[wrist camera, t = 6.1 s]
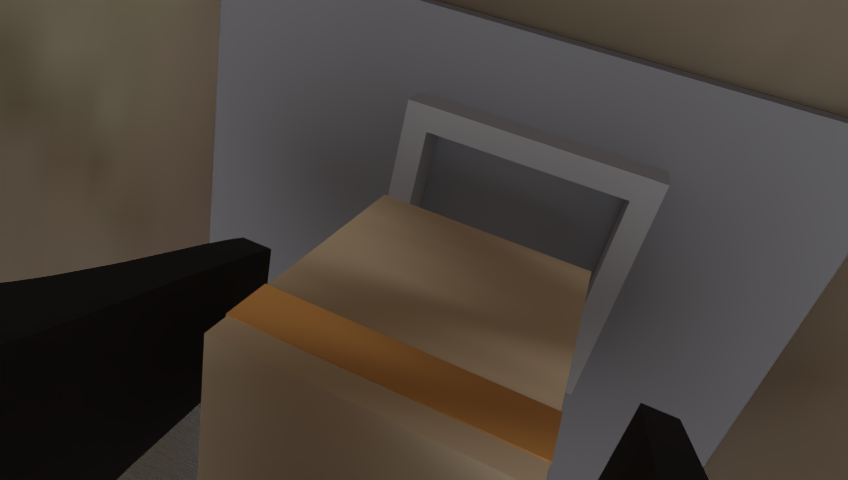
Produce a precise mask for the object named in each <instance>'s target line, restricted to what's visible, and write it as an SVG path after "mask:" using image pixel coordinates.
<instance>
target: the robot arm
mask: <svg viewBox="0 0 848 480" xmlns="http://www.w3.org/2000/svg"><path fill="white" fill-rule="evenodd" d="M270 256H271V249H270V248H268V247H265V246H263V245H260V244H258V243H256V242H253V241H251V240H248V239H246V238H244V237H242V238H235V239H229V240H223V241H218V242H213V243H208V244H203V245H199V246H194V247H190V248H185V249H181V250H176V251H172V252H168V253H163V254H158V255H154V256H149V257H145V258H140V259H136V260H131V261H127V262H122V263H117V264H112V265H106V266H101V267H96V268H90V269H85V270H80V271H74V272H69V273H64V274H58V275H53V276H47V277H40V278H34V279H27V280H20V281H13V282H4V283H0V480H117V479H118V478H119V477H120V476H121V475H122V474H123V473H124V472H125V471H126V470H127V469H128V468H129V467H130V466H131V465H133V464H134V463H135V462H136V461H137V460H138V459H139V458H140V457H141V456H142V455H144V454H145V453H146V452H147V451H148V450H149V449H150V448H151V447H152V446H153V445H155V444H156V443H157V442H158V441H159V440H160V439H161V438H162V437H163V436H164V435H166V434H167V433H168V432H169V431H170V430H171V429H172V428H173V427H174V426H175V425H177V424H178V423H179V422H180V421H181V420H182V419H183V418H184V417H185V416H186V415H188V414H189V413H190V412H191V411H192V410H193V409H194V408H195V407H196V406H197V405H199V404H200V403H201V393H202V372H203V351H204V333H205V332H207V331H208V330H209V329H211V328H212V327H213V326H214V325H216V324H217V323H218V322H220V321H221V320H222V319H224V318H225V317H226V313H227V312H229V311H230V310H231V309H233V308H234V307H235V306H237V305H238V304H239V303H241V302H242V301H243V300H245V299H246V298H247V297H248V296H250V295H251V294H252V293H254V292H255V291H256V290H258V289H259V288H260V287H262V286H263V285H264V284H268V274H269V265H270ZM598 480H709V479H708V477H707V475H706V473H705V471H704V469H703V467H702V464H701V462H700V460H699V458H698V456H697V454H696V452H695V449H694V447H693V445H692V443H691V441H690V439H689V437H688V434H687V432H686V430H685V428H684V426H683V424H682V422H681V420H680V419H679V418H676V417H674V416H672V415H669V414H667V413H664V412H662V411H659V410H657V409H655V408H652V407H650V406H647V405H645V404H643V403H640V405H639V407H638V409H637V410H636V412H635V414H634V416H633V418H632V419H631V421H630V423H629V425H628V427H627V428H626V430H625V432H624V434H623V436H622V437H621V439H620V441H619V443H618V445H617V446H616V448H615V450H614V452H613V454H612V455H611V457H610V459H609V461H608V463H607V464H606V466H605V468H604V470H603V472H602V473H601V475H600V477H599V479H598Z"/></svg>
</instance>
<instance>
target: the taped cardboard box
mask: <svg viewBox="0 0 848 480" xmlns="http://www.w3.org/2000/svg"><path fill="white" fill-rule="evenodd" d="M590 276H591V271H589V270H586V269H583V268H580V267H578V266H575V265H572V264H570V263H567V262H564V261H562V260H559V259H556V258H554V257H551V256H548V255H546V254H543V253H540V252H538V251H535V250H532V249H530V248H527V247H524V246H522V245H519V244H516V243H513V242H511V241H508V240H505V239H503V238H500V237H497V236H495V235H492V234H489V233H487V232H484V231H481V230H479V229H476V228H473V227H471V226H468V225H465V224H463V223H460V222H457V221H455V220H452V219H449V218H447V217H444V216H441V215H438V214H436V213H433V212H430V211H428V210H425V209H422V208H420V207H417V206H414V205H412V204H409V203H406V202H404V201H401V200H398V199H396V198H393V197H390V196H388V195H383V196H382V197H381V198H379V199H378V200H377V201H376V202H374V203H373V204H372V205H370V206H369V207H368V208H366V209H365V210H364V211H363V212H361V213H360V214H359V215H357V216H356V217H355V218H353V219H352V220H351V221H350V222H348V223H347V224H346V225H344V226H343V227H342V228H340V229H339V230H338V231H337V232H335V233H334V234H333V235H331V236H330V237H329V238H327V239H326V240H325V241H324V242H322V243H321V244H320V245H318V246H317V247H316V248H314V249H313V250H312V251H311V252H309V253H308V254H307V255H305V256H304V257H303V258H301V259H300V260H299V261H298V262H296V263H295V264H294V265H292V266H291V267H290V268H288V269H287V270H286V271H285V272H283V273H282V274H281V275H279V276H278V277H277V278H276V279H274V280H273V281H272V282H270V283H269V284H264V285H263V286H262V287H260V288H259V289H258V290H256V291H255V292H254V293H252V294H251V295H250V296H248V297H247V298H246V299H245V300H243V301H242V302H241V303H239V304H238V305H237V306H235V307H234V308H233V309H231V310H230V311H229V312H227V313H226V317H225V318H224V319H222V320H221V321H220V322H218V323H217V324H216V325H214V326H213V327H212V328H211V329H209V330H208V331H207V332H205V333H204V351H203V372H202V393H201V414H200V435H199V456H198V477H197V480H546V477H547V473H548V469H549V467H550V465H551V463H552V461H553V456H554V451H555V447H556V442H557V437H558V433H559V428H560V423H561V419H562V414H563V412H562V411H561V409H562V404H563V400H564V395H565V390H566V386H567V381H568V377H569V372H570V368H571V363H572V359H573V354H574V349H575V345H576V340H577V336H578V331H579V327H580V322H581V317H582V313H583V308H584V304H585V299H586V295H587V290H588V286H589V281H590Z"/></svg>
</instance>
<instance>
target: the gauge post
mask: <svg viewBox="0 0 848 480" xmlns="http://www.w3.org/2000/svg"><path fill="white" fill-rule="evenodd" d="M200 414H201V403H200V404H199V405H197V406H196V407H195V408H194V409H193V410H192V411H191V412H190V413H189V414H188V415H186V416H185V417H184V418H183V419H182V420H181V421H180V422H179V423H178V424H177V425H175V426H174V427H173V428H172V429H171V430H170V431H169V432H168V433H167V434H166V435H164V436H163V437H162V438H161V439H160V440H159V441H158V442H157V443H156V444H155V445H153V446H152V447H151V448H150V449H149V450H148V451H147V452H146V453H145V454H144V455H142V456H141V457H140V458H139V459H138V460H137V461H136V462H135V463H134V464H133V465H131V466H130V467H129V468H128V469H127V470H126V471H125V472H124V473H123V474H122V475H121V476H120V477H119V478H118V479H117V480H197V477H198V456H199V435H200Z"/></svg>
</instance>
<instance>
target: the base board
mask: <svg viewBox="0 0 848 480" xmlns="http://www.w3.org/2000/svg"><path fill="white" fill-rule="evenodd" d="M383 195H388V196H390V197H393V198H396V199H398V200H401V201H404V202H406V203H409V204H412V205H414V206H417V207H420V208H422V209H425V210H428V211H430V212H433V213H436V214H438V215H441V216H444V217H447V218H449V219H452V220H455V221H457V222H460V223H463V224H465V225H468V226H471V227H473V228H476V229H479V230H481V231H484V232H487V233H489V234H492V235H495V236H497V237H500V238H503V239H505V240H508V241H511V242H513V243H516V244H519V245H522V246H524V247H527V248H530V249H532V250H535V251H538V252H540V253H543V254H546V255H548V256H551V257H554V258H556V259H559V260H562V261H564V262H567V263H570V264H572V265H575V266H578V267H580V268H583V269H586V270H589V271H591V276H590V281H589V286H588V290H587V295H586V299H585V304H584V308H583V313H582V317H581V322H580V327H579V331H578V336H577V340H576V345H575V349H574V354H573V359H572V363H571V368H570V372H569V377H568V381H567V386H566V390H565V395H564V400H563V404H562V409H561V411H562V412H563V414H562V419H561V423H560V428H559V433H558V437H557V442H556V447H555V451H554V456H553V461H552V463H551V465H550V467H549V469H548V473H547V477H546V480H598V479H599V477H600V475H601V473H602V472H603V470H604V468H605V466H606V464H607V463H608V461H609V459H610V457H611V455H612V454H613V452H614V450H615V448H616V446H617V445H618V443H619V441H620V439H621V437H622V436H623V434H624V432H625V430H626V428H627V427H628V425H629V423H630V421H631V419H632V418H633V416H634V414H635V412H636V410H637V409H638V407H639V405H640V403H643V404H645V405H647V406H650V407H652V408H655V409H657V410H659V411H662V412H664V413H667V414H669V415H672V416H674V417H676V418H679V419H680V420H681V422H682V424H683V426H684V428H685V430H686V432H687V434H688V437H689V439H690V441H691V443H692V445H693V447H694V449H695V452H696V454H697V456H698V458H699V460H700V462H701V464H702V467H704V466H705V464H706V463H707V461H708V460H709V458H710V457H711V455H712V454H713V452H714V451H715V449H716V448H717V446H718V445H719V443H720V442H721V441H722V439H723V438H724V436H725V435H726V433H727V432H728V430H729V429H730V427H731V426H732V424H733V423H734V421H735V420H736V418H737V417H738V415H739V414H740V413H741V411H742V410H743V408H744V407H745V405H746V404H747V402H748V401H749V399H750V398H751V396H752V395H753V393H754V392H755V390H756V389H757V388H758V386H759V385H760V383H761V382H762V380H763V379H764V377H765V376H766V374H767V373H768V371H769V370H770V368H771V367H772V365H773V364H774V362H775V361H776V360H777V358H778V357H779V355H780V354H781V352H782V351H783V349H784V348H785V346H786V345H787V343H788V342H789V340H790V339H791V337H792V336H793V335H794V333H795V332H796V330H797V329H798V327H799V326H800V324H801V323H802V321H803V320H804V318H805V317H806V315H807V314H808V312H809V311H810V310H811V308H812V307H813V305H814V304H815V302H816V301H817V299H818V298H819V296H820V295H821V293H822V292H823V290H824V289H825V287H826V286H827V284H828V283H829V282H830V280H831V279H832V277H833V276H834V274H835V273H836V271H837V270H838V268H839V267H840V265H841V264H842V262H843V261H844V259H845V258H846V257H847V255H848V118H847V117H843V116H840V115H836V114H833V113H829V112H826V111H822V110H819V109H815V108H812V107H808V106H805V105H801V104H798V103H794V102H791V101H787V100H784V99H780V98H777V97H773V96H770V95H766V94H763V93H759V92H756V91H752V90H749V89H745V88H742V87H738V86H735V85H731V84H728V83H724V82H721V81H717V80H714V79H710V78H707V77H703V76H700V75H696V74H693V73H689V72H686V71H682V70H679V69H675V68H672V67H668V66H665V65H661V64H658V63H654V62H651V61H647V60H644V59H640V58H637V57H633V56H630V55H626V54H623V53H619V52H616V51H612V50H609V49H605V48H602V47H598V46H595V45H591V44H588V43H584V42H581V41H577V40H574V39H570V38H567V37H563V36H560V35H556V34H553V33H549V32H546V31H542V30H539V29H535V28H532V27H528V26H525V25H521V24H518V23H514V22H511V21H507V20H504V19H500V18H497V17H493V16H490V15H486V14H483V13H479V12H476V11H472V10H469V9H465V8H461V7H458V6H454V5H451V4H447V3H444V2H440V1H437V0H221V15H220V35H219V56H218V77H217V97H216V118H215V139H214V159H213V180H212V201H211V221H210V242H209V243H213V242H218V241H223V240H229V239H235V238H242V237H244V238H246V239H248V240H251V241H253V242H256V243H258V244H260V245H263V246H265V247H268V248H270V249H271V256H270V265H269V274H268V284H269V283H270V282H272V281H273V280H274V279H276V278H277V277H278V276H279V275H281V274H282V273H283V272H285V271H286V270H287V269H288V268H290V267H291V266H292V265H294V264H295V263H296V262H298V261H299V260H300V259H301V258H303V257H304V256H305V255H307V254H308V253H309V252H311V251H312V250H313V249H314V248H316V247H317V246H318V245H320V244H321V243H322V242H324V241H325V240H326V239H327V238H329V237H330V236H331V235H333V234H334V233H335V232H337V231H338V230H339V229H340V228H342V227H343V226H344V225H346V224H347V223H348V222H350V221H351V220H352V219H353V218H355V217H356V216H357V215H359V214H360V213H361V212H363V211H364V210H365V209H366V208H368V207H369V206H370V205H372V204H373V203H374V202H376V201H377V200H378V199H379V198H381V197H382V196H383Z"/></svg>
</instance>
